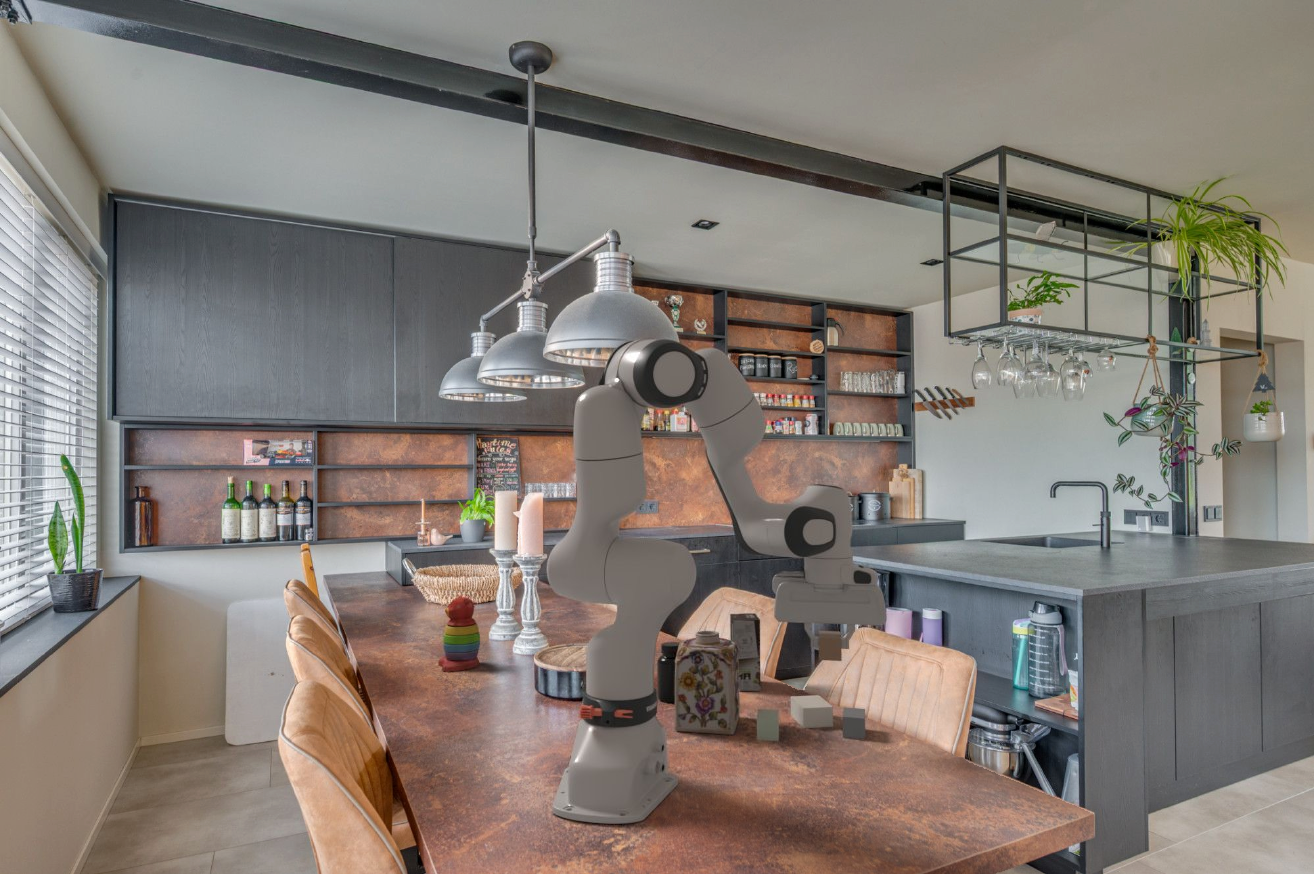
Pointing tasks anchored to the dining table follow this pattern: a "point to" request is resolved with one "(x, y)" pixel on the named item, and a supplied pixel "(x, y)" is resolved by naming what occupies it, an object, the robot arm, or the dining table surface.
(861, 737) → the grey brick
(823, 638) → the walnut brick
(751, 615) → the coffee box
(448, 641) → the stacking bear
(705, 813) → the dining table surface
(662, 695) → the supplement bottle
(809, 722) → the cream block
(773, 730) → the sage brick
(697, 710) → the decorative jar
